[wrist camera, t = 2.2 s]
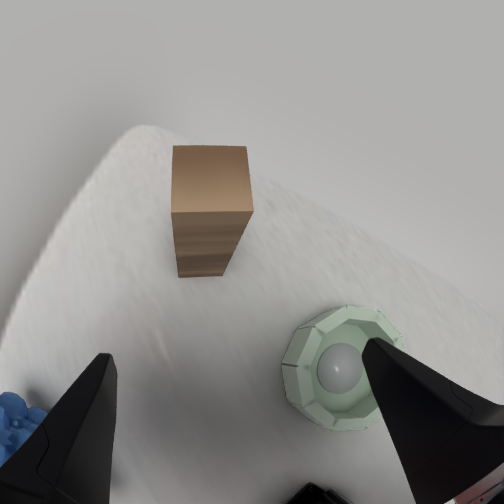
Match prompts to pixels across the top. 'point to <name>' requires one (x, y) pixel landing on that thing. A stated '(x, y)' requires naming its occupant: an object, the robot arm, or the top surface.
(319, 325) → the pale green faceted bowl
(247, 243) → the top surface
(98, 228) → the top surface
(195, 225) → the layered tan brick
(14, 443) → the grapes
